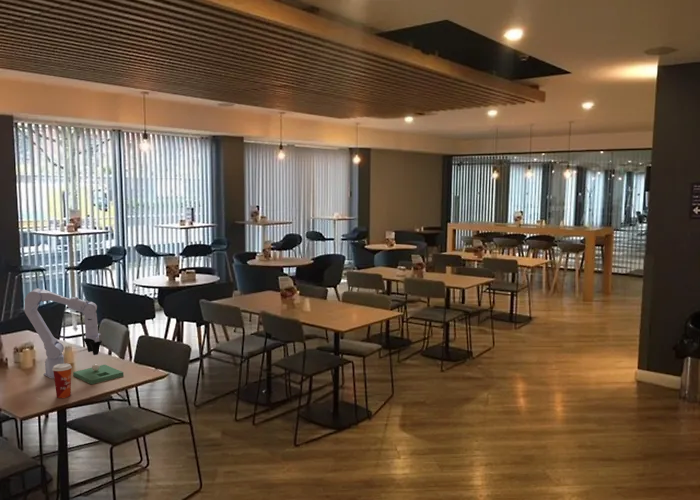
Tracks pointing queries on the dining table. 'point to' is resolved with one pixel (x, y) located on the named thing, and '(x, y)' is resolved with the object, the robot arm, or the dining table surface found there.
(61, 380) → the paper cup
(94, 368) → the ball
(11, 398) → the dining table surface
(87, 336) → the robot arm
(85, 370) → the putting deck
